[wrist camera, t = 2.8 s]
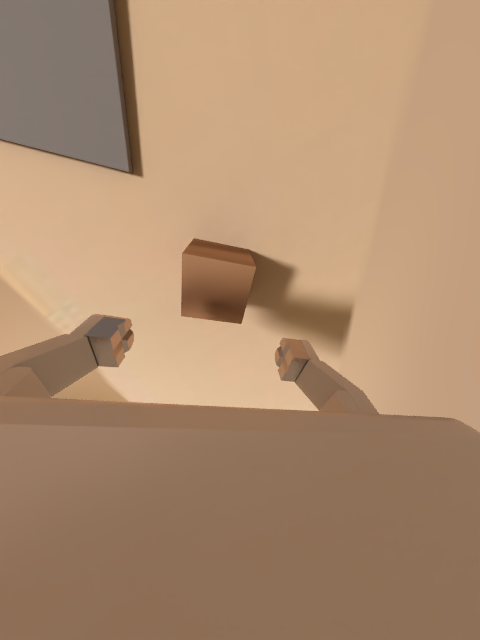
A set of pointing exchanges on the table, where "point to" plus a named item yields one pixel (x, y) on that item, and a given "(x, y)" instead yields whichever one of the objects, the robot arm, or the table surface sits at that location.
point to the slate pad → (63, 80)
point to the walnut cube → (216, 281)
